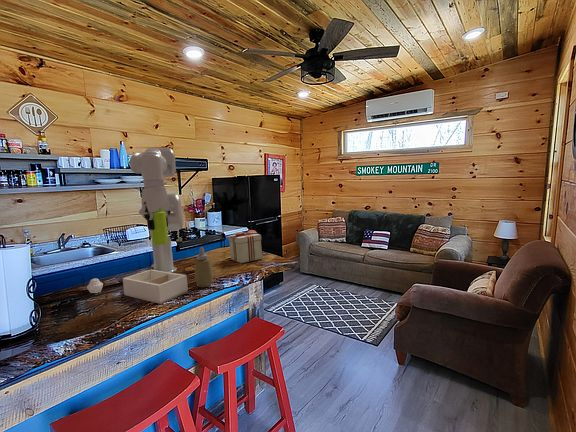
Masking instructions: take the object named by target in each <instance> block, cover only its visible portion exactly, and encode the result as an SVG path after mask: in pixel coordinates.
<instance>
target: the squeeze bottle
mask: <svg viewBox="0 0 576 432" xmlns="http://www.w3.org/2000/svg"><path fill="white" fill-rule="evenodd" d="M208 257H209V256H208V254H207V253H205V250H204V247H202V246H201V247H199V254H197V255H196V260H195V261H194V263H195V264H194V280H195V283H196V284H197V287H199V288H206V287H210V286H211V285H212V284H213V283H212V282H213V279H214V273H213V270H212V264H211V260H210V258H208Z"/></svg>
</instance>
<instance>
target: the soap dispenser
mask: <svg viewBox="0 0 576 432" xmlns="http://www.w3.org/2000/svg"><path fill="white" fill-rule="evenodd" d="M152 220H154V228H155V229H154V230H152V238H153V245H163V244H167V243H168V236H169V234H168V231H167V223H166V212H164V211H162V210H161V208H159V210H158V212H155V213H153V218H152Z"/></svg>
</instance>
